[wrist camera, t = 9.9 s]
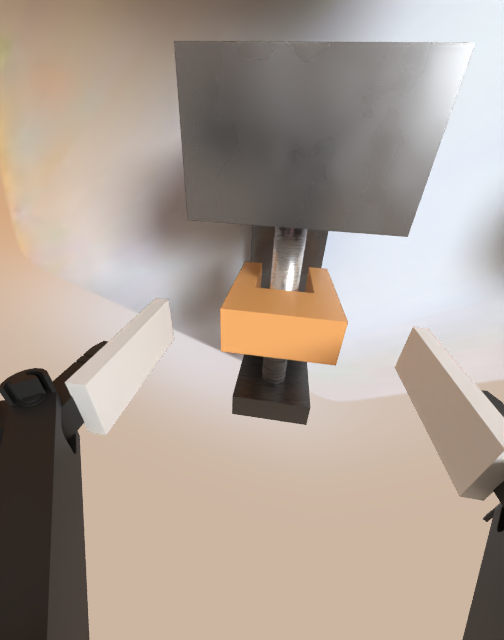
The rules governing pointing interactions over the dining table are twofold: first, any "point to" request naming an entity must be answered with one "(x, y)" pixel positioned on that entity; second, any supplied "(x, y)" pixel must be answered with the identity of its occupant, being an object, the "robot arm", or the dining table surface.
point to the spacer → (283, 318)
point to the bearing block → (312, 135)
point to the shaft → (274, 373)
